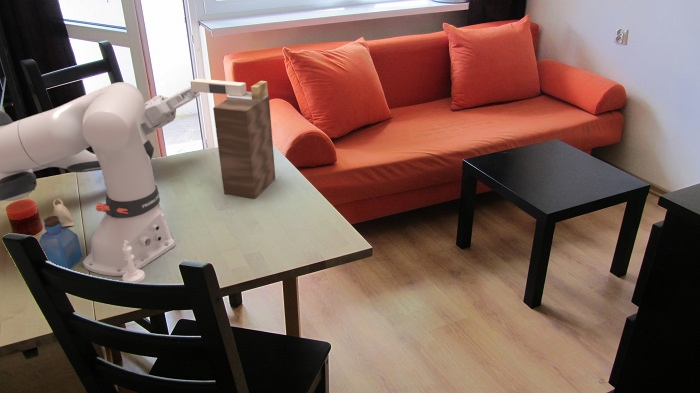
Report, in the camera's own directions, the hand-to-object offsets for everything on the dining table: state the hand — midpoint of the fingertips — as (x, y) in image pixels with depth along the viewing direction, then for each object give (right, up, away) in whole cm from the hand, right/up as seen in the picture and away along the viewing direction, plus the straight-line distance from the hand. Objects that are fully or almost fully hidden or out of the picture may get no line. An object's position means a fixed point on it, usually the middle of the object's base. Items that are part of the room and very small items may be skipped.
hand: (191, 92), depth 167 cm
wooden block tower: (+17, -28, +4) cm, 33 cm away
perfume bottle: (-22, -47, -31) cm, 60 cm away
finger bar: (+9, -1, -4) cm, 10 cm away
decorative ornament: (-30, -38, -14) cm, 50 cm away
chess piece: (-3, -50, -37) cm, 62 cm away
